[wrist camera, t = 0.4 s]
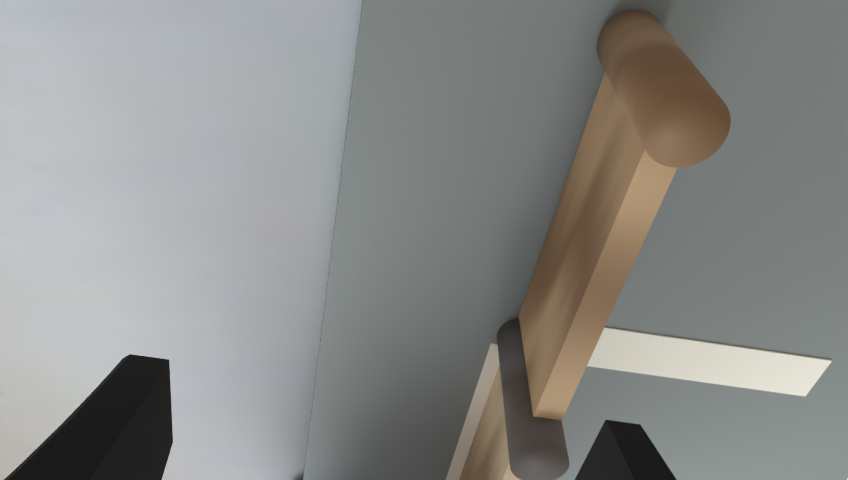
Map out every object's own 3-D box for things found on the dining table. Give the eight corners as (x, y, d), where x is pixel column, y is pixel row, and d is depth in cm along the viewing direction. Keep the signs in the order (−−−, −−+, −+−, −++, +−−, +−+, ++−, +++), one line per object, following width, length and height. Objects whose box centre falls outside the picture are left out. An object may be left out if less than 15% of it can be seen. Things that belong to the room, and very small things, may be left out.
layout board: (781, 537, 30) (786, 547, 30) (303, 480, 28) (301, 490, 28) (1200, 64, 17) (1217, 71, 17) (375, -100, 15) (374, -96, 15)
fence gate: (554, 318, 22) (579, 437, 18) (506, 311, 22) (520, 429, 18) (674, 16, 16) (745, 98, 12) (609, 3, 16) (662, 83, 12)
